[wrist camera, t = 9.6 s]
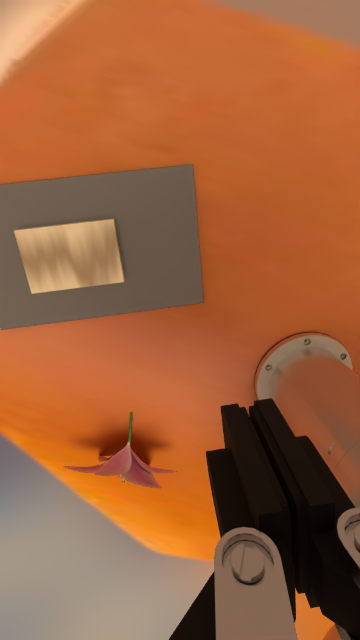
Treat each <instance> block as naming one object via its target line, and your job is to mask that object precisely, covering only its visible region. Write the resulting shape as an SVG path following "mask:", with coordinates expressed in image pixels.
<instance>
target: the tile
mask: <svg viewBox="0 0 360 640" xmlns="http://www.w3.org/2000/svg"><path fill="white" fill-rule="evenodd" d="M14 233H15V237H16V240H17V244H18V247H19V251H20V254H21V258H22V261H23V265H24V268H25V272H26V275H27V279H28V283H29V286H30V290H31V293H32V294H34V293H42V292H49V291H57V290H65V289H73V288H81V287H89V286H97V285H104V284H112V283H120V282H124V280H125V274H124V268H123V262H122V257H121V251H120V245H119V239H118V233H117V227H116V221H115V218H108V219H100V220H91V221H82V222H73V223H65V224H56V225H47V226H38V227H30V228H21V229H18V230H14Z"/></svg>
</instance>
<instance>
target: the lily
mask: <svg viewBox="0 0 360 640" xmlns="http://www.w3.org/2000/svg"><path fill="white" fill-rule="evenodd" d="M131 432H132V412H131V413H130V427H129V438H128V443H127V445H126V446H125V447H124V448H123V449H121V450H120V451H119V452H117V453H116V454H114V455H113V456H111V457H110V458H106V457H103V456H98V459H99V461H100V462H103V461H106V460H108V461H107V462H106V463H104V464H101V465H97V466H90V467H71V466H63V467H65V468H67V469H71V470H74V471H79V472H84V473H95V472H96V473H95V474H96V475H102V476H114V475H119V476H120V475H121V477H122V476H123V481H122V482H124V483H125V479H126V480H127V481H129V482H131V483H134V484H137V485H141V486H145V487H150V488H162V487H161V486H160V485H159V484H158V483H157V481H156V480H155V478H154V477H153V475H152V474H151V472H153V473H174V472H177V471H172V470H164V469H158V468H153V467H151V466H150V465H147V464H145V463H144V462H143V461H142V460H140V459H139V458H138V456H137V455H136V454H135V453H134V452H133V451H132V449H131V447H130V441H131ZM118 478H119V477H118Z"/></svg>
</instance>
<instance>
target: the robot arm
mask: <svg viewBox="0 0 360 640" xmlns="http://www.w3.org/2000/svg"><path fill="white" fill-rule="evenodd" d="M254 386H255V393H256V395H257V398H258V400H256V401H254V406H249V415H248V413H247V410H246V408H245V407H241V408H239V405H238V404H231V405H225V406H221V415H222V424H223V433H224V442H225V449H219V450H213V451H206V458H207V465H208V472H209V479H210V485H211V490H212V496H213V501H214V506H215V511H216V516H217V521H218V526H219V531H220V536H221V539H220V540H219V542H218V544H217V546H216V549H215V556H214V568H215V571H214V572H213V574H212V575H211V577H210V578H209V580H208V581H207V583H206V584H205V586H204V587H203V589H202V590H201V592H200V593H199V595H198V596H197V598H196V599H195V601H194V602H193V604H192V605H191V607H190V609H189V610H188V611H187V613H186V614H185V616H184V618H183V619H182V620H181V622H180V623H179V625H178V626H177V628H176V630H175V631H174V632H173V634H172V635H171V637H170V639H169V640H298V639H297V634H296V630H295V625H294V622H295V620H296V603H295V588H296V590H297V592H298V593H299V594H300V593H305V595H306V597H307V600H308V602H309V605H310V608H314V607H320V609H321V612H322V614H323V615H324V616H326V617H327V618H329V619H330V620H332V621H333V622H334V623H335V624H334V625H333V626H332V627H331V628H330V629H329V631H328V632H327V634H326V635H325V637H324V639H323V640H360V377H359V376H358V375H357V374H356V373H355V372H353V365H352V360H351V357H350V355H349V353H348V351H347V350H346V349H345V347H344V346H343V345H342V344H341V343H339V342H338V341H337V340H335V339H334V338H332V337H330V336H328V335H325V334H321V333H312V332H310V333H301V334H298V335H294V336H291V337H289V338H287V339H285V340H283V341H281V342H280V343H278V344H277V345H275V346H274V347H273V348H272V349H271V350H270V351H269V352H268V353H267V354H266V355H265V357H264V358H263V359H262V361H261V363H260V365H259V366H258V369H257V372H256V375H255V383H254ZM249 416H250V417H249Z"/></svg>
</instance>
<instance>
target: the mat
mask: <svg viewBox="0 0 360 640" xmlns="http://www.w3.org/2000/svg"><path fill="white" fill-rule="evenodd" d="M108 218H115V221H116V227H117V233H118V239H119V245H120V251H121V257H122V262H123V268H124V274H125V280H124V282H120V283H112V284H104V285H97V286H89V287H81V288H73V289H65V290H57V291H49V292H42V293H34V294H32V293H31V290H30V286H29V283H28V279H27V275H26V272H25V268H24V265H23V261H22V258H21V254H20V251H19V247H18V244H17V240H16V237H15V233H14V230H18V229H21V228H30V227H38V226H47V225H56V224H65V223H73V222H82V221H91V220H100V219H108ZM200 303H204V296H203V284H202V271H201V258H200V246H199V233H198V220H197V207H196V195H195V182H194V169H193V164H191V165H181V166H172V167H162V168H153V169H143V170H134V171H124V172H115V173H105V174H96V175H86V176H77V177H67V178H58V179H48V180H39V181H29V182H20V183H10V184H1V185H0V328H1V330H5V329H13V328H20V327H28V326H35V325H43V324H50V323H58V322H65V321H73V320H80V319H88V318H95V317H103V316H110V315H118V314H125V313H133V312H140V311H148V310H155V309H163V308H170V307H177V306H185V305H192V304H200Z"/></svg>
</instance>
